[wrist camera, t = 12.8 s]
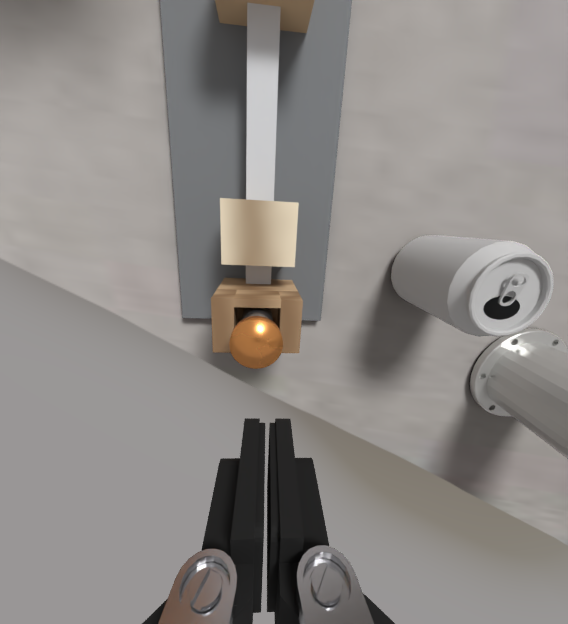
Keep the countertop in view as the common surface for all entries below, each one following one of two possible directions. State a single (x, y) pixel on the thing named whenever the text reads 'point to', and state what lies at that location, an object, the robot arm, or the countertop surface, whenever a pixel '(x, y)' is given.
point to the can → (474, 282)
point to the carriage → (258, 232)
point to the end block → (240, 295)
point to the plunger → (256, 339)
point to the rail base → (225, 140)
